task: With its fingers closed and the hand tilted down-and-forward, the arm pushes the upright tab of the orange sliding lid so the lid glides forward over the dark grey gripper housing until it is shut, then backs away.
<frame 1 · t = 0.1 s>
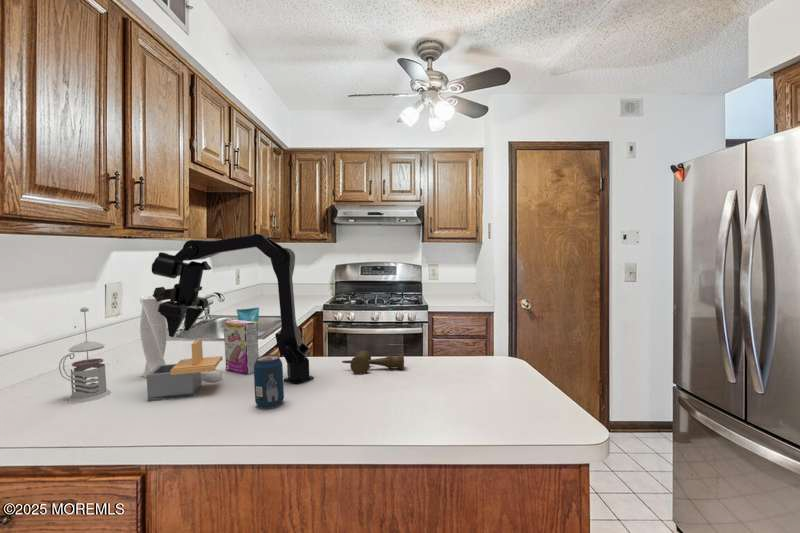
hand: (179, 333, 122), 15 cm above the worktop, tool pointing down, fingers open, 9 cm apart
candy bar box: (242, 371, 135), on the worktop
french press: (86, 397, 115), on the worktop
ball with square handle: (214, 379, 127), on the worktop
soda can: (270, 405, 104), on the worktop
kendama: (373, 371, 132), on the worktop
lid: (197, 354, 117), point 10 cm above the worktop, slide at 6.0 cm
skyscraper: (157, 377, 134), on the worktop
tube: (250, 362, 147), on the worktop
housing: (176, 392, 116), on the worktop
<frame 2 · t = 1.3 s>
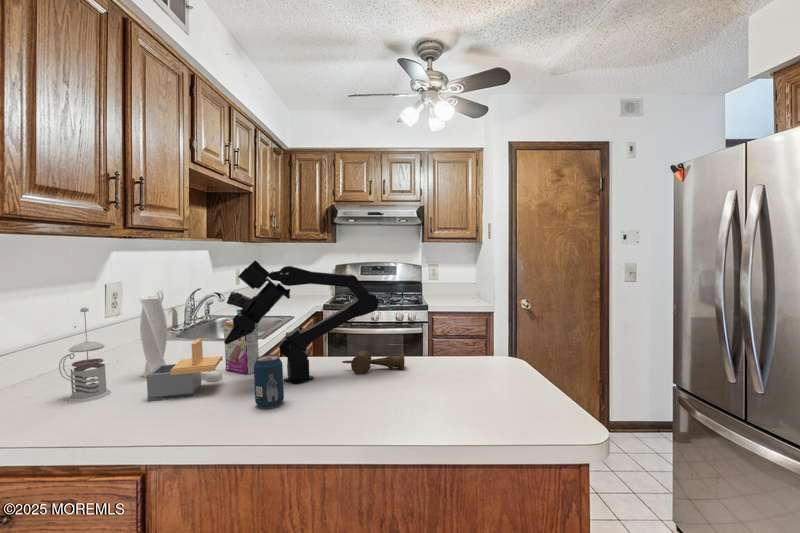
hand: (227, 340, 119), 13 cm above the worktop, tool tilted 45°, fingers open, 7 cm apart
nothing on the worktop moved.
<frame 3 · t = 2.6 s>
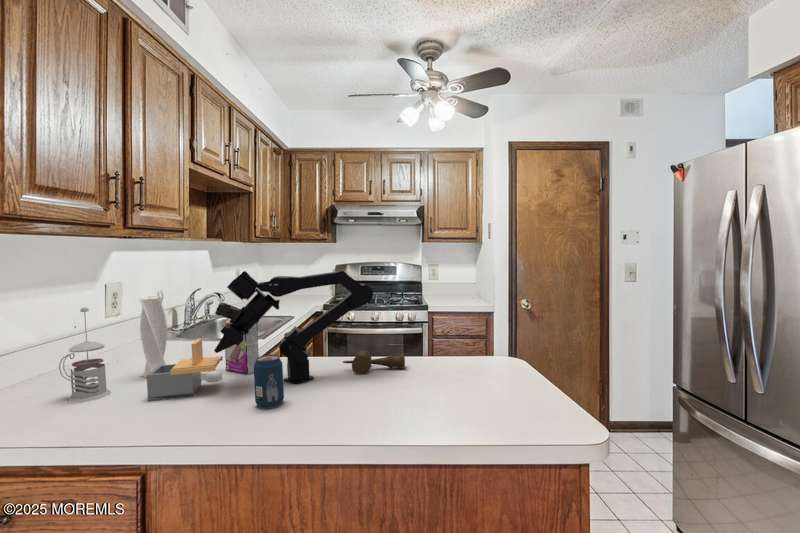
hand: (215, 351, 118), 11 cm above the worktop, tool tilted 45°, fingers closed
nothing on the worktop moved.
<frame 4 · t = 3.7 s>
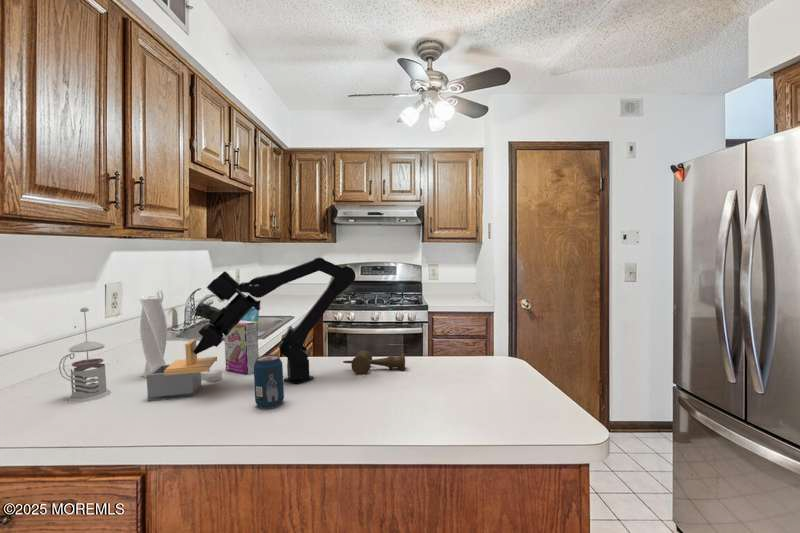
hand: (194, 352, 117), 11 cm above the worktop, tool tilted 45°, fingers closed, pressing on lid
lid: (191, 354, 116), point 10 cm above the worktop, slide at 4.5 cm, touching gripper
everything else where it was.
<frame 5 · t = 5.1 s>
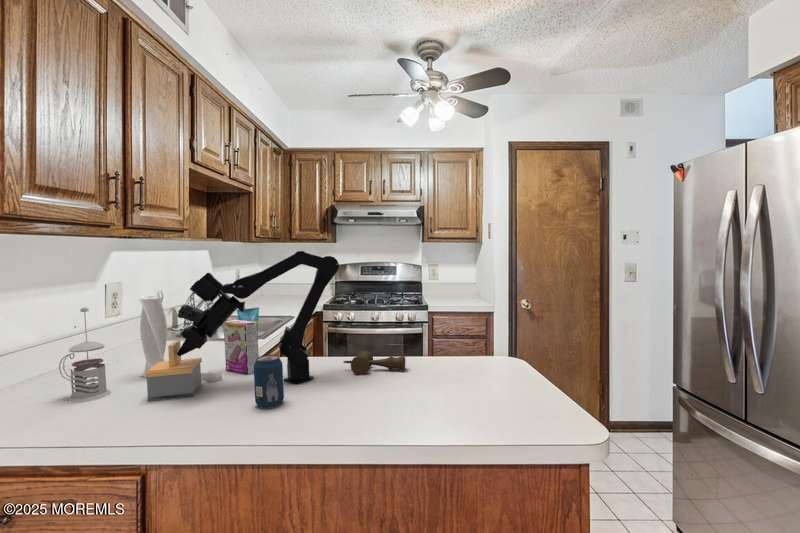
hand: (178, 355, 116), 11 cm above the worktop, tool tilted 45°, fingers closed, pressing on lid
lid: (175, 356, 115), point 10 cm above the worktop, slide at 0.2 cm, touching gripper
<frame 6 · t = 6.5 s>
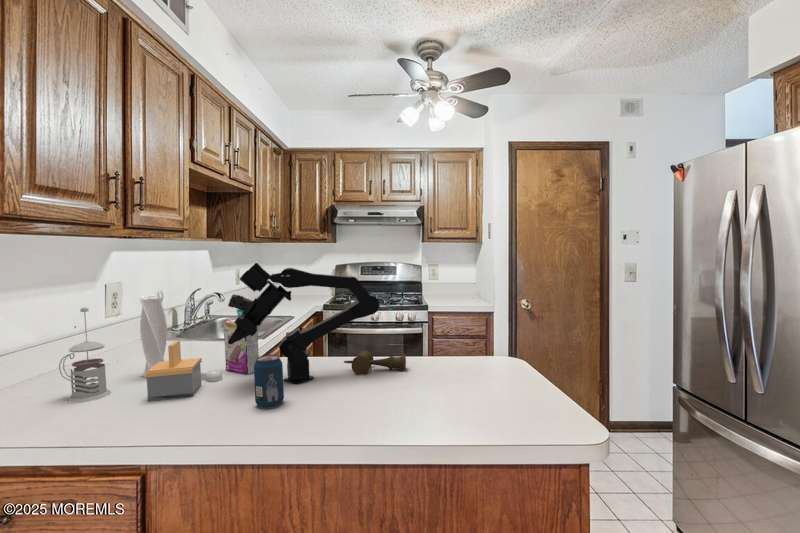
hand: (229, 343, 119), 13 cm above the worktop, tool tilted 45°, fingers closed
lid: (175, 356, 115), point 10 cm above the worktop, slide at 0.2 cm
everything else where it was.
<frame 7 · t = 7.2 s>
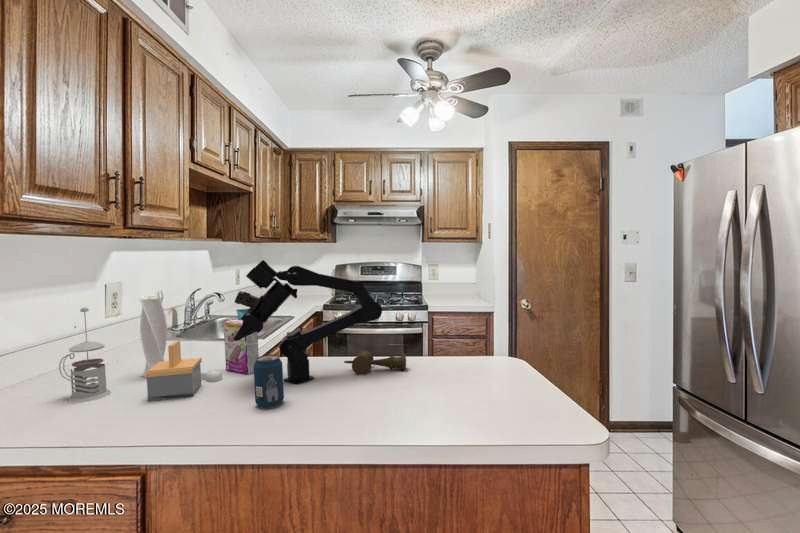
hand: (234, 339, 119), 14 cm above the worktop, tool tilted 45°, fingers closed
nothing on the worktop moved.
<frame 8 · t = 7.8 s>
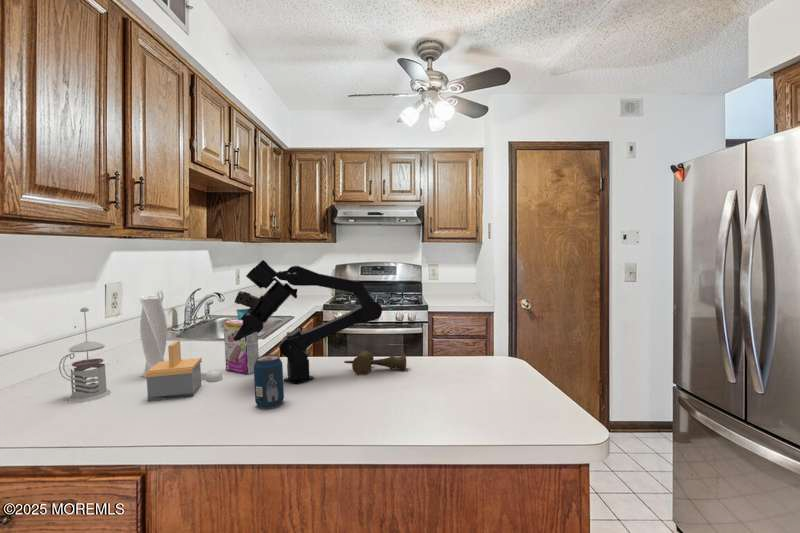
hand: (234, 339, 119), 14 cm above the worktop, tool tilted 45°, fingers closed
nothing on the worktop moved.
at the end: lid slide at 0.2 cm; ball with square handle moved 0.0 cm from its start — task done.
